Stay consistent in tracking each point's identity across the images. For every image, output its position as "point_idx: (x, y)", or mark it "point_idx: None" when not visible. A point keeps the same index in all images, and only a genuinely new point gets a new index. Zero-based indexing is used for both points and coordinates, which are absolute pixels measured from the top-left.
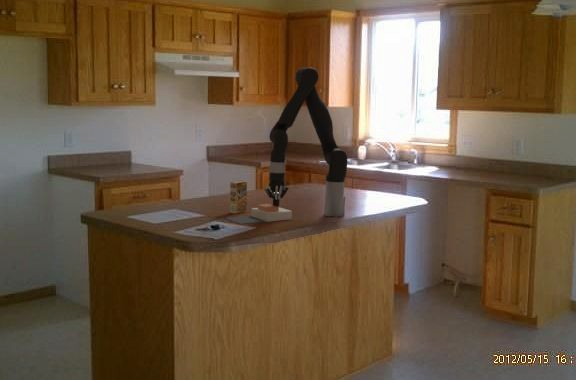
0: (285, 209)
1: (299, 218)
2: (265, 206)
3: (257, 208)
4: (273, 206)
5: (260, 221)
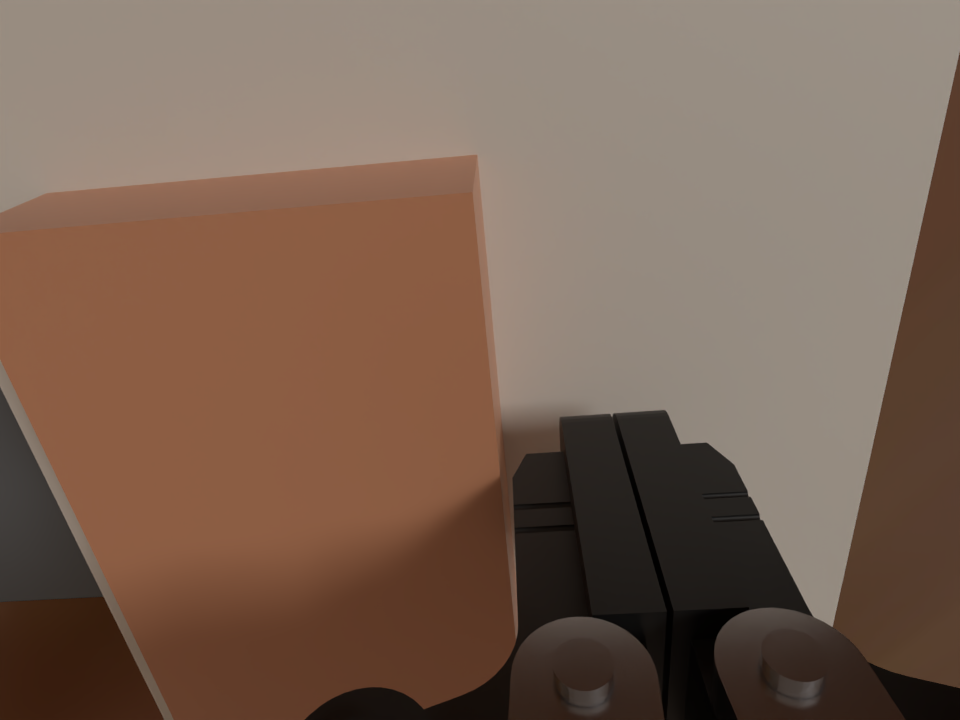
0: (823, 528)
1: (941, 542)
2: (161, 585)
3: (51, 130)
4: (410, 646)
5: (95, 581)
